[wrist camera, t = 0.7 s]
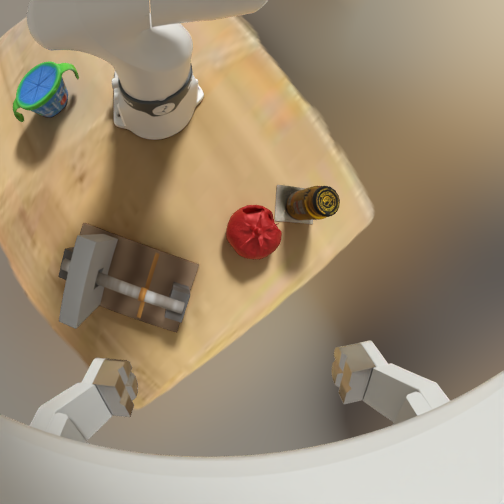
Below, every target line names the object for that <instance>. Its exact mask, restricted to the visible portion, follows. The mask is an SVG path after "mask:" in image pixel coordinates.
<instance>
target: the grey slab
mask: <svg viewBox="0 0 504 504" xmlns="http://www.w3.org/2000/svg"><path fill="white" fill-rule="evenodd" d="M117 241H118V239H116V238H114V237H111V236H108V235H106V234H92V235H78V236H77V239H76V243H75V247H74V250H73V254H72V258H71V262H70V266H69V270H68V275H67V279H66V284H65V289H64V294H63V300H62V305H61V311H60V318H59V322H62V323H64V324H66V325H68V326H71V327H73V328H75V329H76V328H77V327H78V326H79V325H80V324H81V323H82V322H83V321H84V320H85V319H86V318H87V317H88V316H89V315H90V314H91V313H92V312H93V311H94V310H95V309H96V308H97V307H98V306H99V305H100V303H101V299H102V295H103V291H104V287H103V286H101V285H98V284H96V283H95V282H96V278H97V274H98V272H101V273H103V274H106V275H108V271H109V268H110V264H111V261H112V257H113V254H114V251H115V247H116V244H117Z"/></svg>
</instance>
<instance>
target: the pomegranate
mask: <svg viewBox="0 0 504 504" xmlns="http://www.w3.org/2000/svg"><path fill="white" fill-rule="evenodd" d="M278 224H279V223H278ZM276 225H277V224H275V223H274V219H273V214H272V212H271V211H270V210H269V209H267V208H265V207H263V206H259V205H248V206H245V207H242V208H240V209H239V210H237V211H236V212H235V213H233V215H232V216H231V218H230V220H229V222H228V225H227V232H226V237H227V240H228V242H229V243H230V244H231V246H232V247H233V248H234V249H235V251H236V252H237V253H238V254H239V255H240V256H242V257H244V258H248V259H262V258H264V257H266V256H268V255H269V254H271V253H272V252H274V251H275V250H276V248H277V247H278V246H279V244H280V240H281V231H280V230H279V229H278V227H277V226H276Z"/></svg>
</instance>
